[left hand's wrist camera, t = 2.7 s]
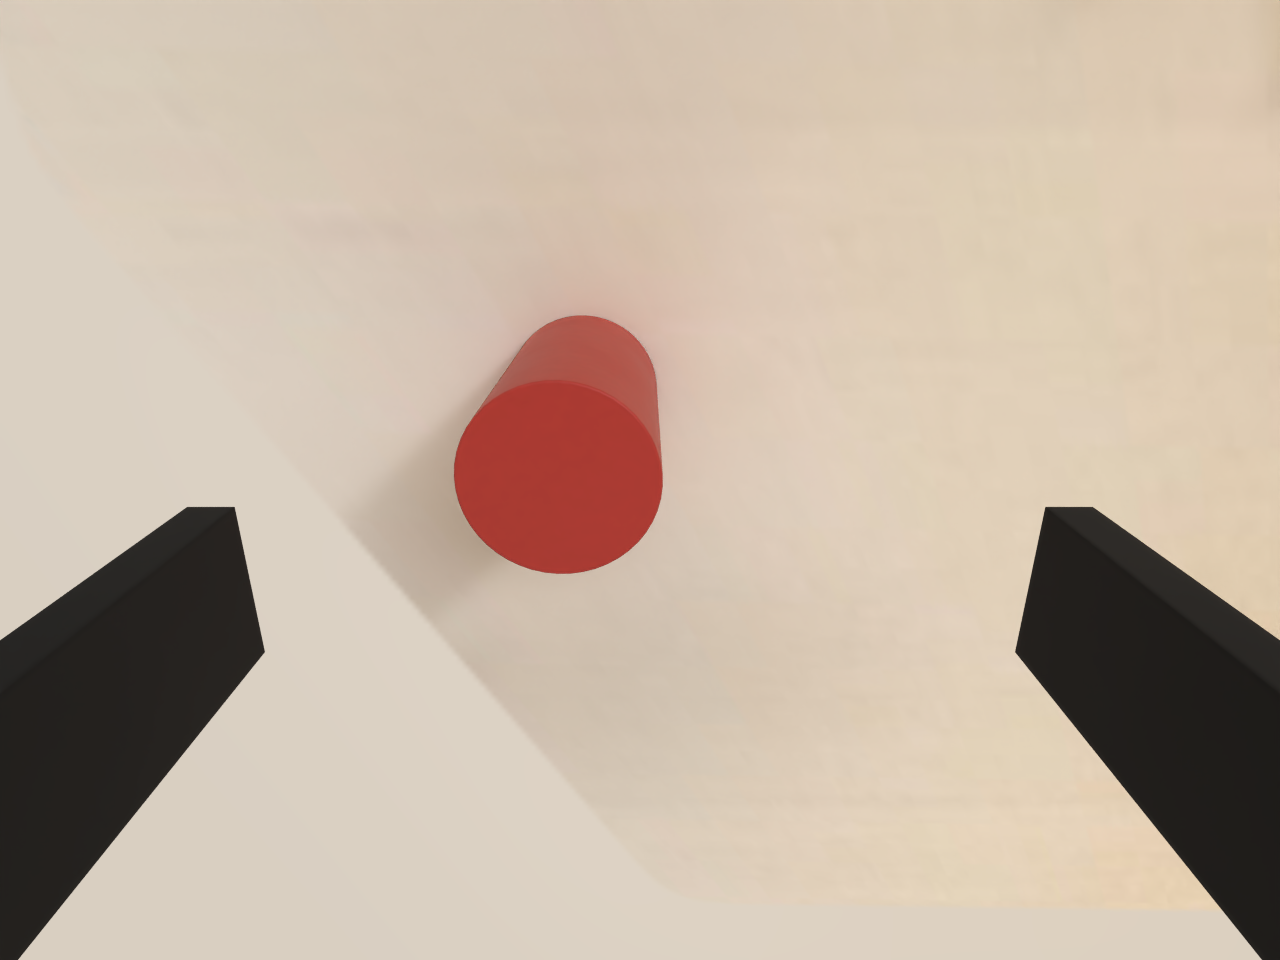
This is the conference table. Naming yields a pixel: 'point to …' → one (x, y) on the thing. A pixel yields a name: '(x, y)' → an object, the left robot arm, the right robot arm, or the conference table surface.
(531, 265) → the conference table surface
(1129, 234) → the conference table surface
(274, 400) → the conference table surface
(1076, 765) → the conference table surface
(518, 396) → the canister
